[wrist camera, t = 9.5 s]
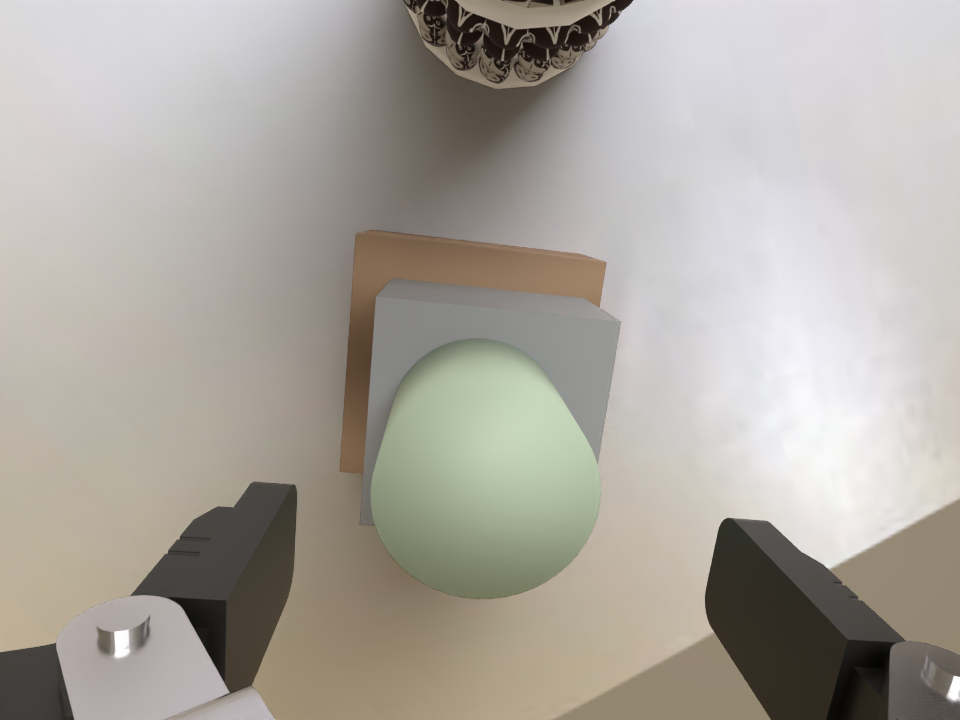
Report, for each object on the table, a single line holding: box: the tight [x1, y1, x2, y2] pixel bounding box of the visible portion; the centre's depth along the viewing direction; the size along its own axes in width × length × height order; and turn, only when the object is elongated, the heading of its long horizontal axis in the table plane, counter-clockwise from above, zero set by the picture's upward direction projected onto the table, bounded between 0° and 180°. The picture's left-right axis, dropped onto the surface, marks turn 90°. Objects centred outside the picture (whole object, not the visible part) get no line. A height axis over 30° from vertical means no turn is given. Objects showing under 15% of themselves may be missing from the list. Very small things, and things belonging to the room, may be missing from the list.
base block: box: [340, 230, 606, 474], centre depth 25 cm, size 9×9×5 cm
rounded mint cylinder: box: [371, 338, 601, 599], centre depth 16 cm, size 5×5×5 cm
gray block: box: [360, 278, 621, 526], centre depth 21 cm, size 7×7×5 cm
